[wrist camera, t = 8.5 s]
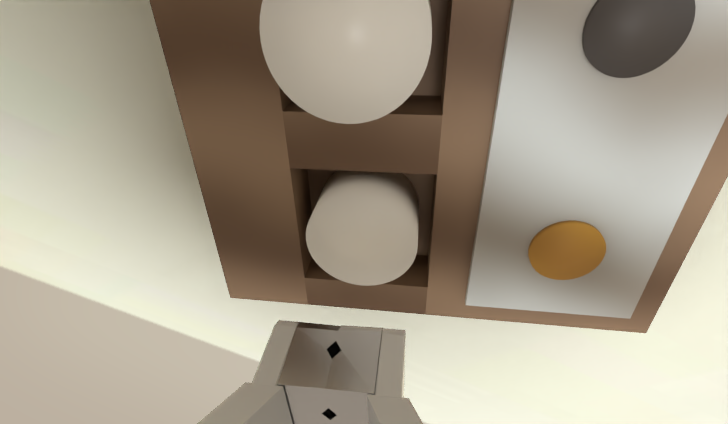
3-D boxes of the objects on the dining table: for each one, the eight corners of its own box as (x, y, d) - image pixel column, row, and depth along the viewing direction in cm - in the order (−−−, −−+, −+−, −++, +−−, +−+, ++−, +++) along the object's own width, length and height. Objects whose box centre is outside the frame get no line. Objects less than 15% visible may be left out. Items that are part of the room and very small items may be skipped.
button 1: (317, 159, 16) (300, 191, 14) (422, 163, 15) (420, 198, 13) (324, 242, 18) (311, 281, 16) (416, 248, 17) (414, 289, 15)
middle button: (281, -60, 11) (245, -62, 9) (437, -64, 10) (438, -68, 8) (298, 93, 13) (272, 122, 11) (426, 96, 12) (426, 126, 10)
